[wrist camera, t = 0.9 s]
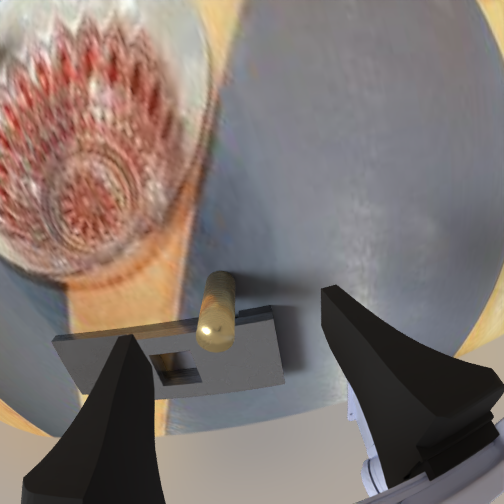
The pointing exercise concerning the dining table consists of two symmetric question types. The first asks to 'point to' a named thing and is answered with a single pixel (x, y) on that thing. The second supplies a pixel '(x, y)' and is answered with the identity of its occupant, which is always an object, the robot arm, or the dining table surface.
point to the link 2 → (219, 358)
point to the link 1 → (106, 352)
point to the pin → (217, 313)
